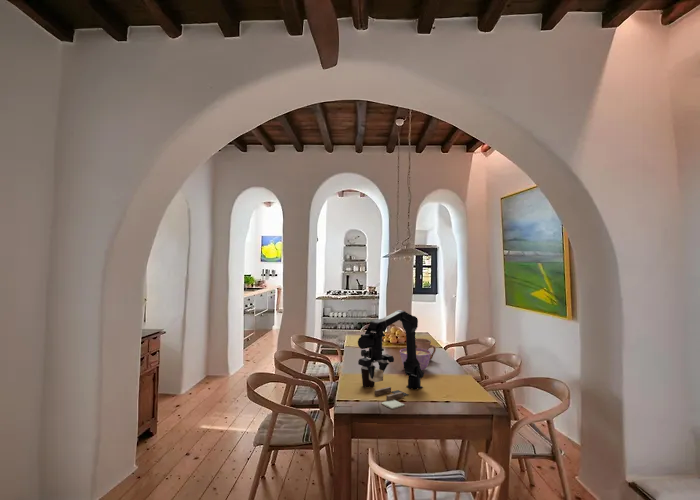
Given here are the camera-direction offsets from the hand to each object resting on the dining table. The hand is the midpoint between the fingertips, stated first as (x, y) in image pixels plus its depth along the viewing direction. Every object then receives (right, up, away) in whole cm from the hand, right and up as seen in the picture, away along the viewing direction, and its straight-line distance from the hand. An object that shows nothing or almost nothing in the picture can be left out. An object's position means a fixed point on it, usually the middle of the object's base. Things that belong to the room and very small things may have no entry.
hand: (376, 377), depth 194 cm
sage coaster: (+8, -11, -7) cm, 15 cm away
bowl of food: (+29, -13, +54) cm, 62 cm away
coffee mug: (-2, -12, +22) cm, 25 cm away
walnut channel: (+7, -11, +5) cm, 14 cm away
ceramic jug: (+37, -14, +77) cm, 87 cm away
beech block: (0, -1, 0) cm, 1 cm away
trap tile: (+13, -11, +9) cm, 19 cm away
